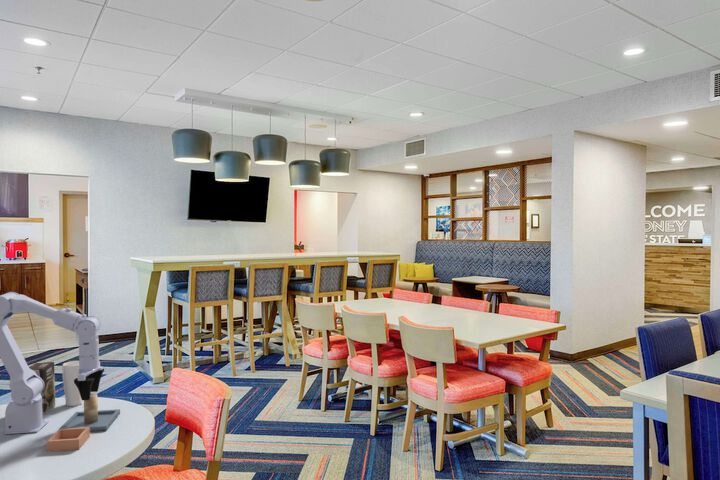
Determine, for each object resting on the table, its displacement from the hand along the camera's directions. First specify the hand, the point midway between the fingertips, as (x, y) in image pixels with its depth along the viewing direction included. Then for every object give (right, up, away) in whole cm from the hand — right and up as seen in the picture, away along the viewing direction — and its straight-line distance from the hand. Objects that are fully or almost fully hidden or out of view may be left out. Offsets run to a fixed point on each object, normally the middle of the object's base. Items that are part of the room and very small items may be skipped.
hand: (89, 395), depth 165 cm
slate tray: (0, -9, 0) cm, 9 cm away
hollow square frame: (+2, -10, -14) cm, 18 cm away
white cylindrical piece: (-15, -9, +17) cm, 24 cm away
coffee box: (-23, -9, +11) cm, 27 cm away
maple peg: (0, -9, +1) cm, 9 cm away
